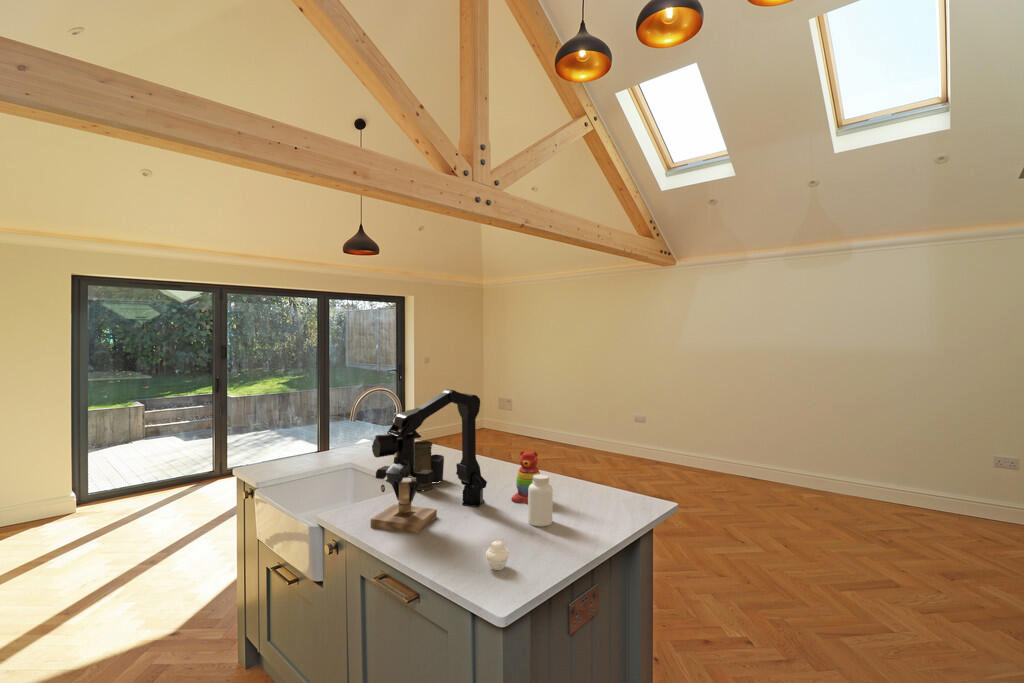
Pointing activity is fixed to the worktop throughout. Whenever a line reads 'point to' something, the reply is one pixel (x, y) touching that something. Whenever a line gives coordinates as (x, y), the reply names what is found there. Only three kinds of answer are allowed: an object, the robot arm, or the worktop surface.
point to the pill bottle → (540, 501)
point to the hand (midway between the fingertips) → (405, 500)
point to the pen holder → (437, 467)
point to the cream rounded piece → (497, 555)
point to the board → (404, 519)
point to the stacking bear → (525, 475)
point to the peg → (404, 497)
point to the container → (423, 460)
